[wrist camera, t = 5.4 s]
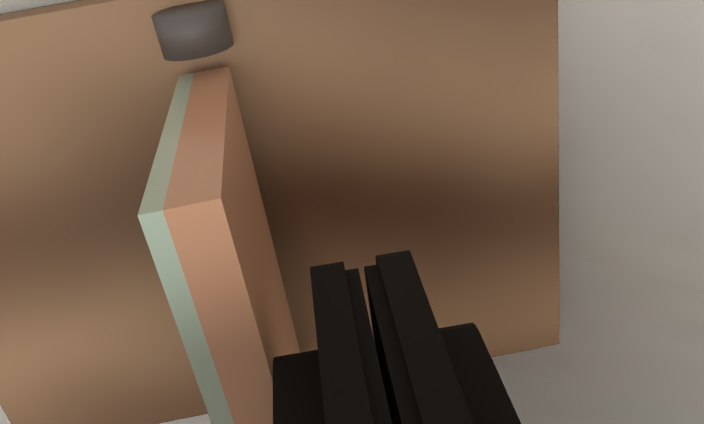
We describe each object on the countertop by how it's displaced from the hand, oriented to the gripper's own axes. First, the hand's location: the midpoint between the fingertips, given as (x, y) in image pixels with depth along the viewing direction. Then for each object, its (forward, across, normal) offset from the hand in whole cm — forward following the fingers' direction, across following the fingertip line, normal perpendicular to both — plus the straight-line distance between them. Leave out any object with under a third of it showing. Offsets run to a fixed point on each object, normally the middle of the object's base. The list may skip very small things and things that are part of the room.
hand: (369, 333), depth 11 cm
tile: (+2, +2, +1) cm, 3 cm away
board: (+6, +2, +1) cm, 7 cm away
